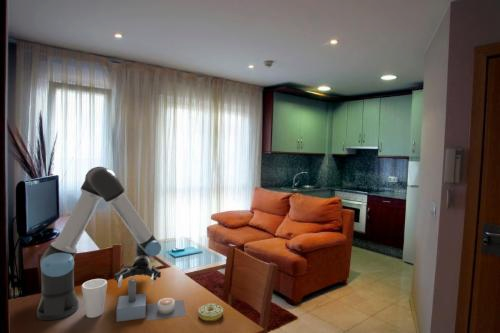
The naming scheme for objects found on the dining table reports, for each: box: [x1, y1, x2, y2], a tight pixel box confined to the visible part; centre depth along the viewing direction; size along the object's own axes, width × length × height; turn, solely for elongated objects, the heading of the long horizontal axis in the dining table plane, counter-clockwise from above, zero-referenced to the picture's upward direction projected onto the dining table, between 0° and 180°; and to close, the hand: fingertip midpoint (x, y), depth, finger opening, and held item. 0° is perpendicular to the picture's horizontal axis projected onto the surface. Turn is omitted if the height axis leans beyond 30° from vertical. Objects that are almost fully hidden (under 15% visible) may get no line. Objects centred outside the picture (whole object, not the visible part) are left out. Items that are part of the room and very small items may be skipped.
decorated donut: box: [197, 302, 224, 322], centre depth 131 cm, size 10×11×4 cm
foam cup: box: [81, 278, 108, 319], centre depth 130 cm, size 10×9×13 cm
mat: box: [146, 299, 187, 322], centre depth 135 cm, size 16×14×1 cm
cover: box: [116, 278, 147, 323], centre depth 131 cm, size 11×11×15 cm
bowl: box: [157, 297, 176, 314], centre depth 135 cm, size 7×7×4 cm
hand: (135, 283), depth 135 cm, fingers open, 13 cm apart
